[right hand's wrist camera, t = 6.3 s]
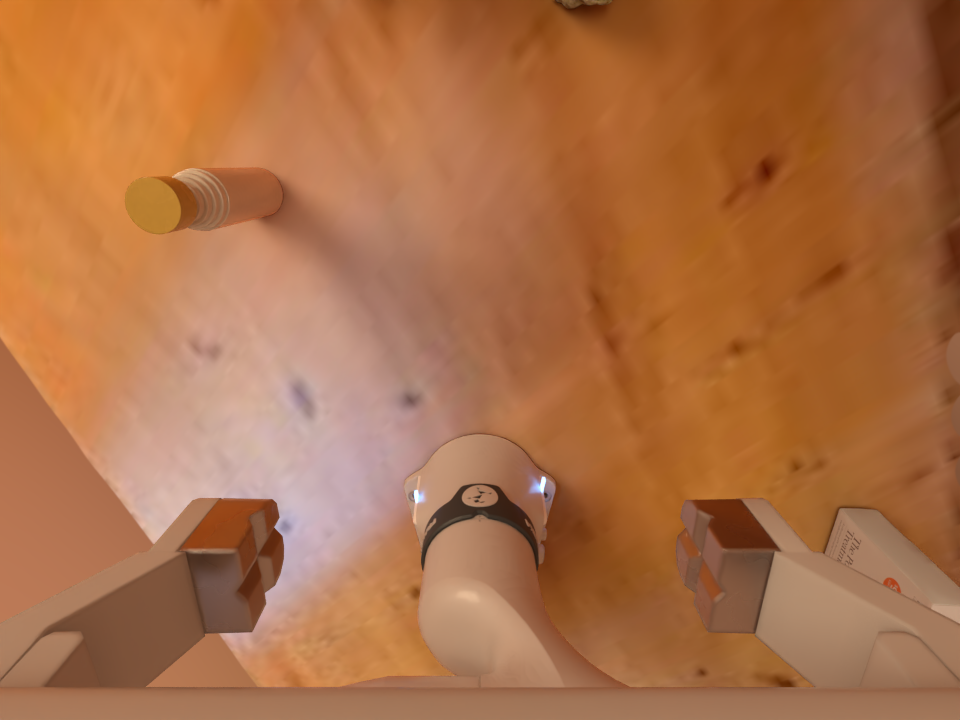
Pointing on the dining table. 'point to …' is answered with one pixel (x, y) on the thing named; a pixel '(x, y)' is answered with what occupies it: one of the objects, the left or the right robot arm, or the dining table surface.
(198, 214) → the bottle
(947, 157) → the dining table surface
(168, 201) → the cap
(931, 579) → the skincare box
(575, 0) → the rock
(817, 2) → the dining table surface
